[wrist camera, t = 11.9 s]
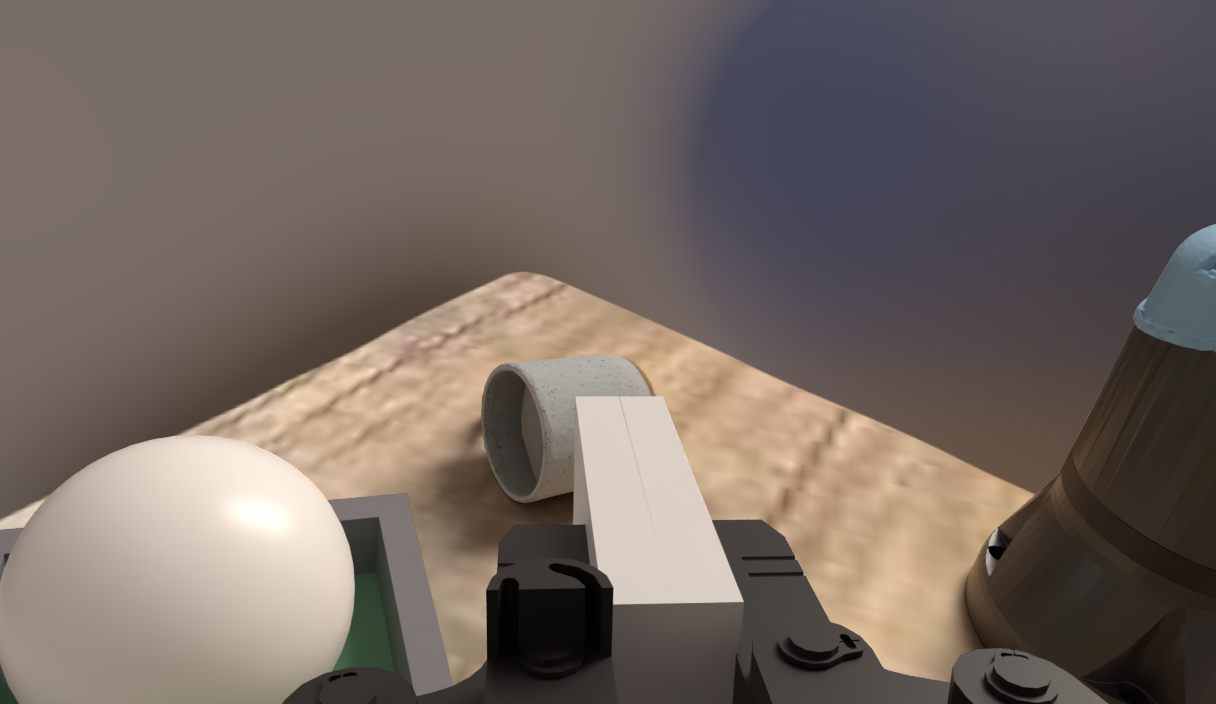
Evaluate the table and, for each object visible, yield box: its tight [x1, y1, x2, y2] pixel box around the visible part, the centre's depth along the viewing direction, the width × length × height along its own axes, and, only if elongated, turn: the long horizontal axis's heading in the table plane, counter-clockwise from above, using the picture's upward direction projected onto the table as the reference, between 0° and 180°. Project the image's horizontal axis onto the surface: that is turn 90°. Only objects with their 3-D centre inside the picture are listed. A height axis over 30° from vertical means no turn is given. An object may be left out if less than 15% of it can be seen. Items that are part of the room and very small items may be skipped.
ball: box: [0, 435, 355, 704], centre depth 35 cm, size 12×12×12 cm
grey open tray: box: [0, 493, 453, 696], centre depth 37 cm, size 18×16×4 cm
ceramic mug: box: [481, 355, 656, 503], centre depth 55 cm, size 11×8×8 cm
